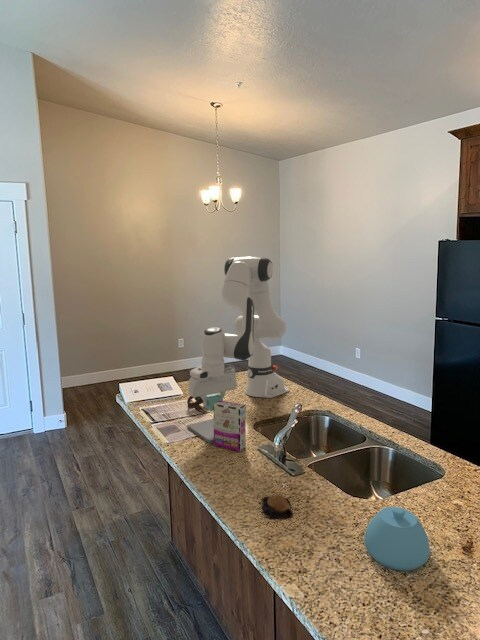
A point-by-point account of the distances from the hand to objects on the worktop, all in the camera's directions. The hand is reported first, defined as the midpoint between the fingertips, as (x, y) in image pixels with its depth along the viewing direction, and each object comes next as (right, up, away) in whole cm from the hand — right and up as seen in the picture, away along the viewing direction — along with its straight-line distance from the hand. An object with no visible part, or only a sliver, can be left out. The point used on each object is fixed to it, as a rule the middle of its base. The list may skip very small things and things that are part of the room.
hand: (213, 403), depth 182 cm
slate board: (0, -11, +2) cm, 12 cm away
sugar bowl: (+48, -24, -69) cm, 88 cm away
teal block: (0, -2, 0) cm, 2 cm away
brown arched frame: (-8, -7, +28) cm, 30 cm away
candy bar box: (+7, -14, -11) cm, 19 cm away
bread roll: (+21, -21, -50) cm, 58 cm away
